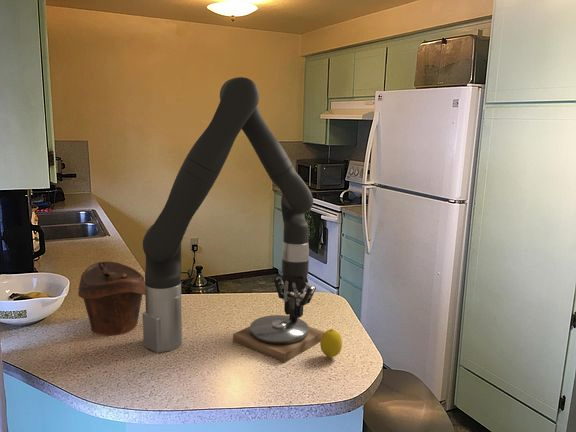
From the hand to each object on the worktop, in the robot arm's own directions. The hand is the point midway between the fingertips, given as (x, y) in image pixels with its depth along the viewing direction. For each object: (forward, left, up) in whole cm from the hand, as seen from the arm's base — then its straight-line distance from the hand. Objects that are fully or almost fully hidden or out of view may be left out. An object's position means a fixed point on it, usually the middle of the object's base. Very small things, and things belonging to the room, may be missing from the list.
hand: (293, 315), depth 139 cm
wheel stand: (-7, 0, -6) cm, 9 cm away
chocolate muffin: (-31, +42, -6) cm, 52 cm away
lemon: (-5, -16, -6) cm, 18 cm away
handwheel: (-6, 0, -3) cm, 7 cm away
